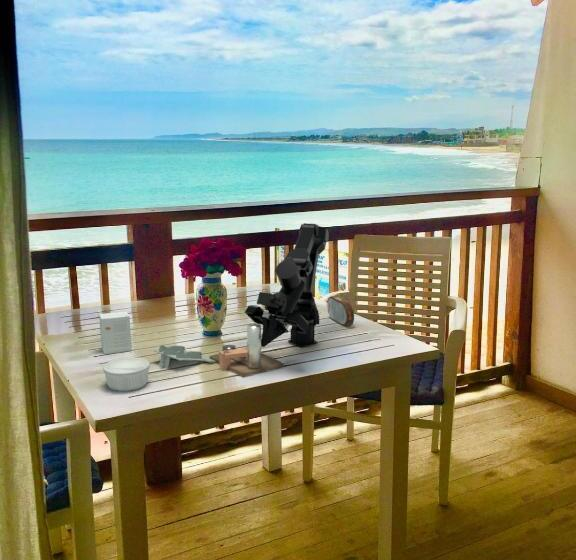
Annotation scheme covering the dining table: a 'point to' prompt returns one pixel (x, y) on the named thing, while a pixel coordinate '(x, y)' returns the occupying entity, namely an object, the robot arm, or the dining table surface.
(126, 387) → the ramekin
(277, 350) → the dining table surface
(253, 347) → the grey cylinder with bar
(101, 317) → the small box
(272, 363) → the board
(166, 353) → the metal bracket
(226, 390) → the dining table surface
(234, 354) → the block
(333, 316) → the tin
